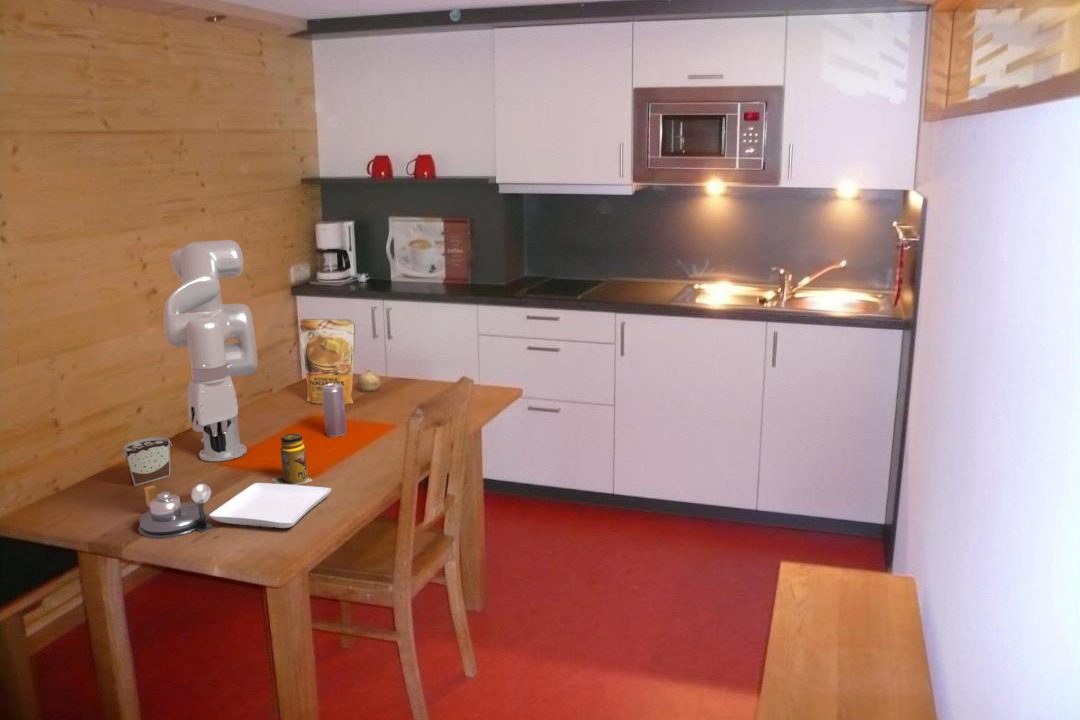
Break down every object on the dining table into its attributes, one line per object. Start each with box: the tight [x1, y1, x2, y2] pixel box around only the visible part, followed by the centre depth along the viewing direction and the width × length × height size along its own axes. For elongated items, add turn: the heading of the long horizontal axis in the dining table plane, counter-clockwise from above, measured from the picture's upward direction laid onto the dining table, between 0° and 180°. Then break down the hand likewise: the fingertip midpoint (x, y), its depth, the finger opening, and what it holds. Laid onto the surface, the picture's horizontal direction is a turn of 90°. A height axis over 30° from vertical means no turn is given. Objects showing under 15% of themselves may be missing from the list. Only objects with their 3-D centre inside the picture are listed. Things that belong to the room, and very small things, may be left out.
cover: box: [150, 490, 182, 522], centre depth 209 cm, size 6×6×6 cm
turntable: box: [139, 484, 206, 535], centre depth 212 cm, size 18×14×6 cm
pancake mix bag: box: [297, 318, 356, 406], centre depth 301 cm, size 7×19×28 cm, turn 77°
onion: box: [356, 369, 381, 393], centre depth 317 cm, size 8×8×7 cm
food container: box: [122, 436, 173, 487], centre depth 240 cm, size 12×6×10 cm, turn 134°
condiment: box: [271, 432, 313, 485], centre depth 235 cm, size 7×8×12 cm
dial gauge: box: [190, 483, 214, 533], centre depth 207 cm, size 3×4×11 cm
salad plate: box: [208, 482, 332, 529], centre depth 216 cm, size 21×21×3 cm
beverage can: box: [322, 383, 347, 438], centre depth 270 cm, size 6×6×15 cm
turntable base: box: [138, 512, 209, 539], centre depth 211 cm, size 15×15×1 cm
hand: (219, 450), depth 209 cm, fingers closed
